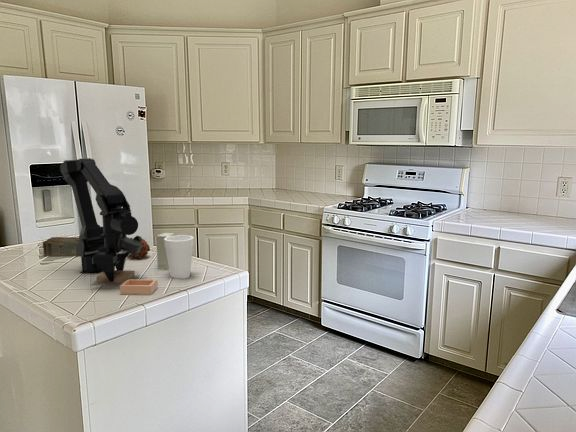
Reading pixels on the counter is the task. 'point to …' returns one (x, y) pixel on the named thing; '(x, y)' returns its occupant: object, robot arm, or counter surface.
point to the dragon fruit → (142, 250)
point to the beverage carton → (61, 246)
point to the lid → (116, 276)
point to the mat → (112, 283)
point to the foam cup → (179, 255)
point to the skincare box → (162, 251)
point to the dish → (138, 287)
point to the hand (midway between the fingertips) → (116, 278)
